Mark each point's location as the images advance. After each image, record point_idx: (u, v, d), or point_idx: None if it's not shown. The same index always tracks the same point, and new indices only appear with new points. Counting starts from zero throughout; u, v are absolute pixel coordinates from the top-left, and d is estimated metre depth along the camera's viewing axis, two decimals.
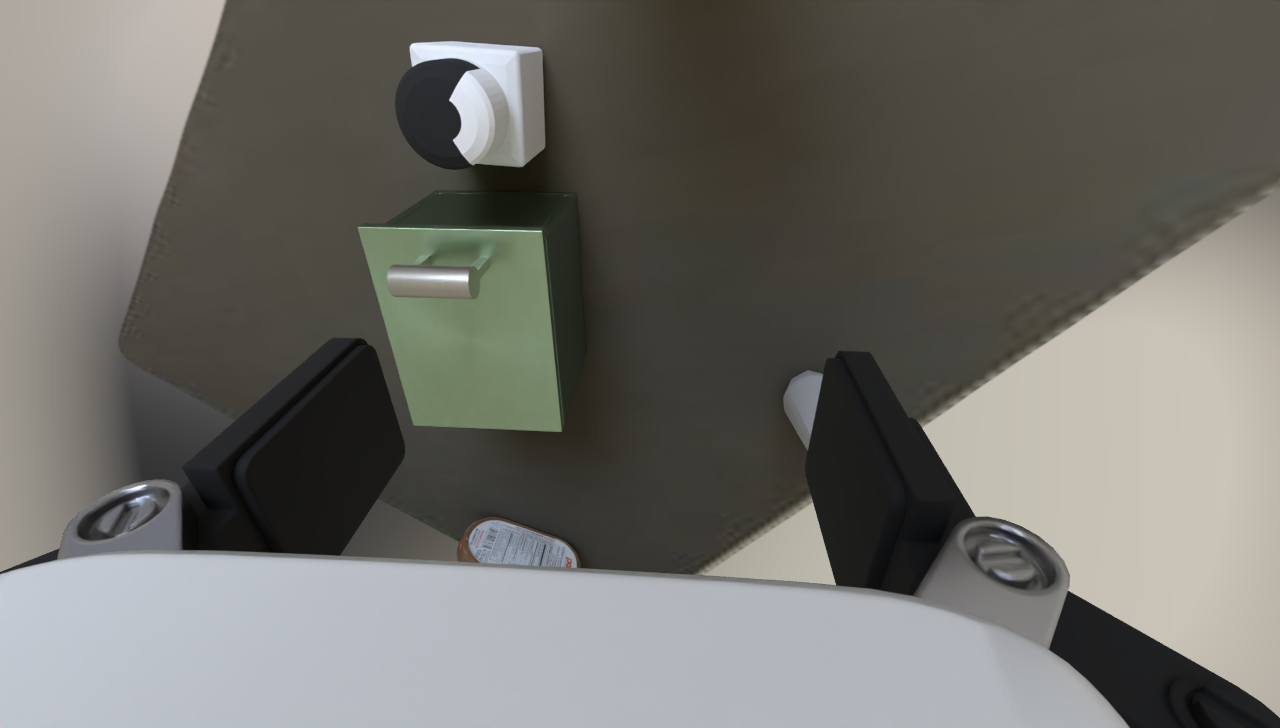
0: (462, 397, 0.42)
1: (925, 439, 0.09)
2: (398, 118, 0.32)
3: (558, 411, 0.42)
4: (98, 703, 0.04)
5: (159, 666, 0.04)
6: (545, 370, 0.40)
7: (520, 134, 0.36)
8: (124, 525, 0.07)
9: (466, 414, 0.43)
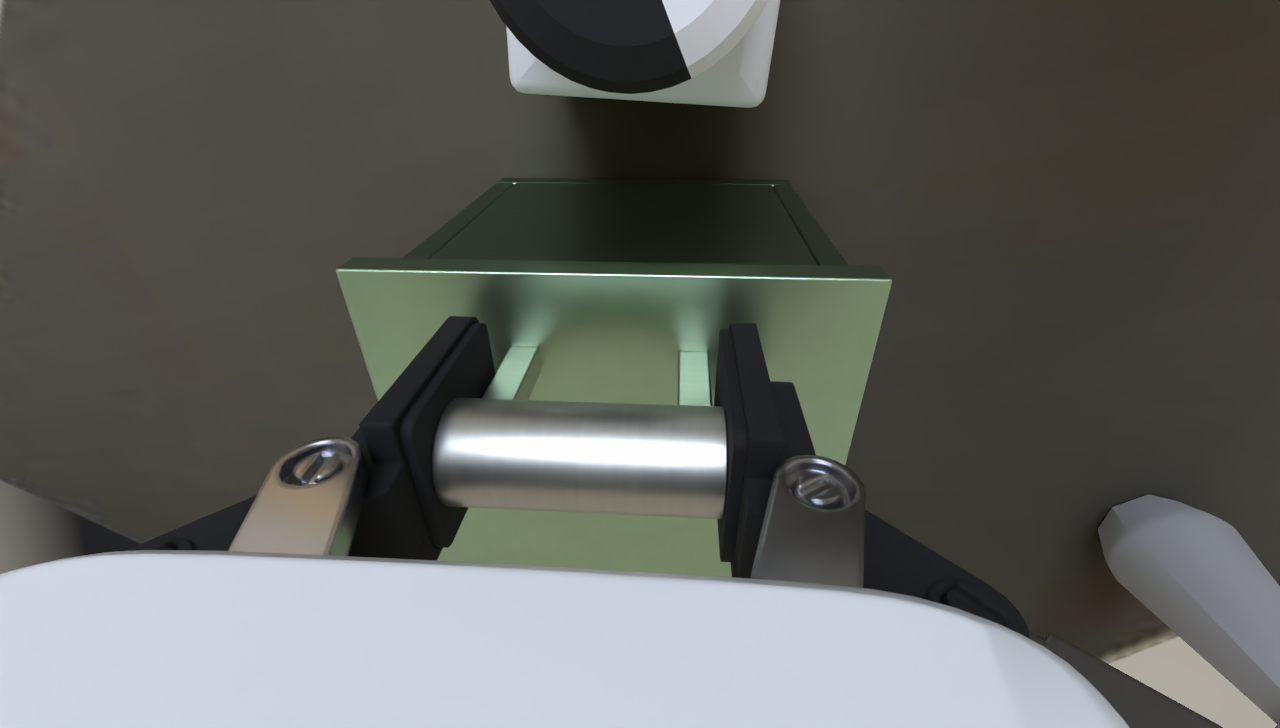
0: None
1: (795, 398, 0.10)
2: None
3: None
4: (98, 703, 0.04)
5: (159, 666, 0.04)
6: None
7: (772, 14, 0.14)
8: (317, 474, 0.08)
9: None
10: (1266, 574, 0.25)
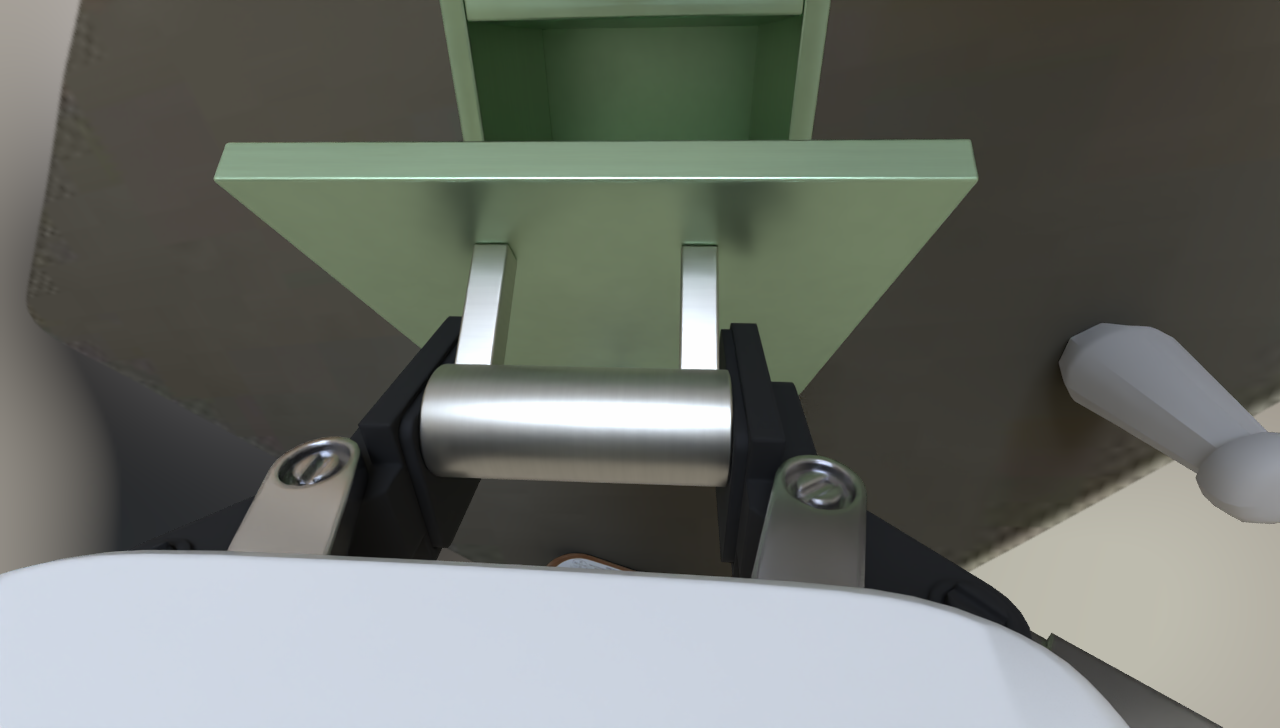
0: None
1: (796, 399, 0.10)
2: None
3: None
4: (98, 703, 0.04)
5: (159, 666, 0.04)
6: None
7: None
8: (316, 474, 0.08)
9: None
10: (1198, 365, 0.29)
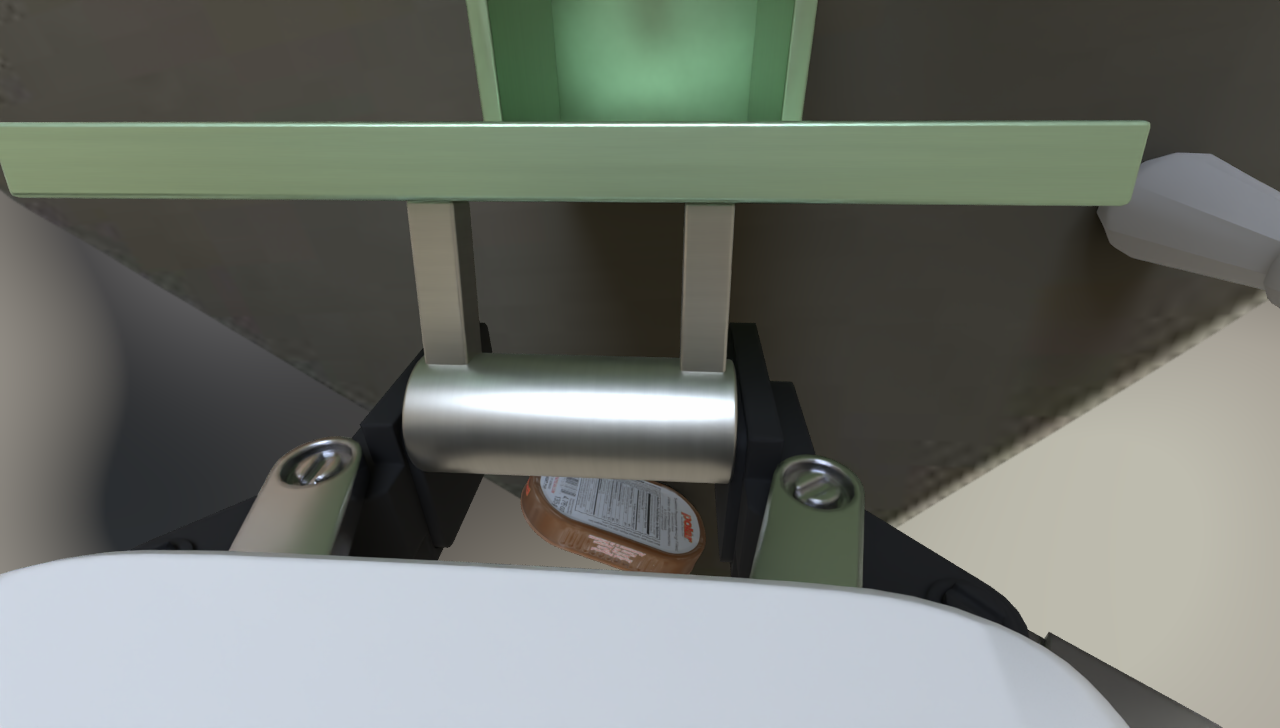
0: None
1: (794, 398, 0.10)
2: None
3: None
4: (99, 703, 0.04)
5: (159, 666, 0.04)
6: None
7: None
8: (318, 474, 0.08)
9: None
10: (1260, 182, 0.26)
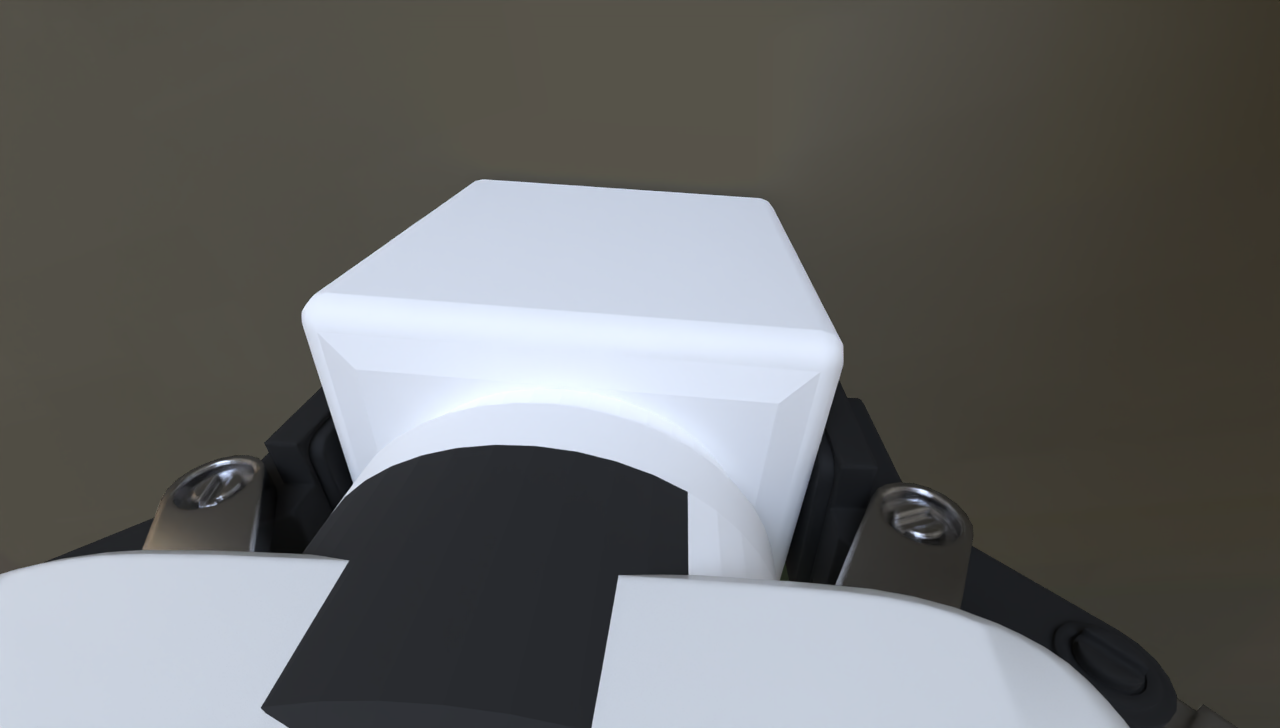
0: None
1: (867, 417, 0.09)
2: None
3: None
4: (98, 703, 0.04)
5: (159, 666, 0.04)
6: None
7: None
8: (215, 496, 0.07)
9: None
10: None
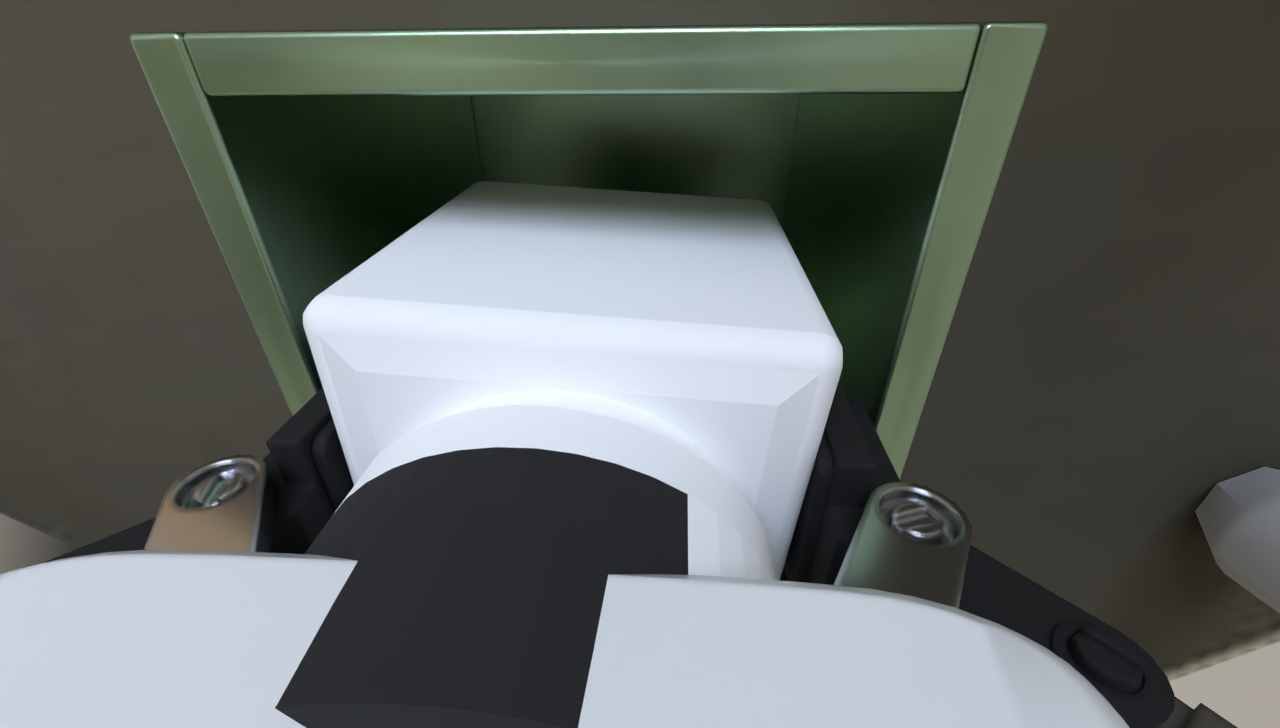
0: None
1: (866, 416, 0.09)
2: None
3: None
4: (98, 703, 0.04)
5: (159, 666, 0.04)
6: None
7: None
8: (217, 496, 0.07)
9: None
10: None
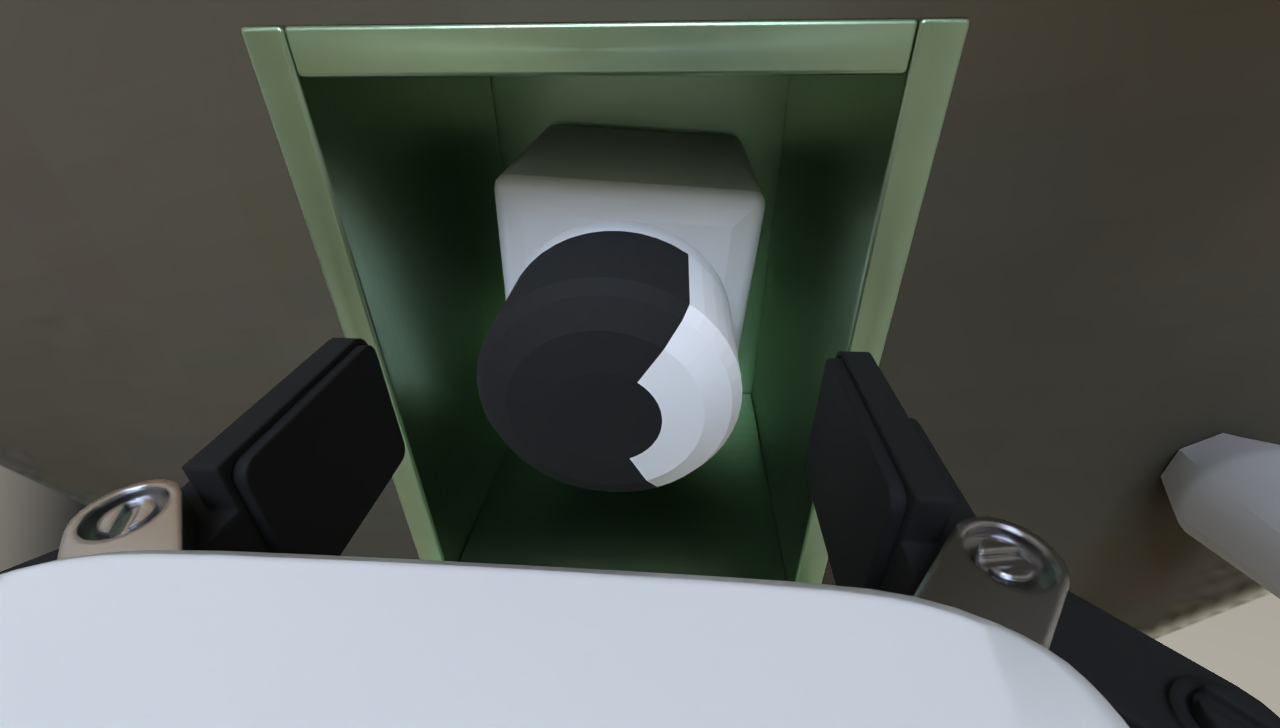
0: None
1: (925, 439, 0.09)
2: (485, 403, 0.12)
3: None
4: (98, 703, 0.04)
5: (159, 666, 0.04)
6: None
7: None
8: (124, 525, 0.07)
9: None
10: None
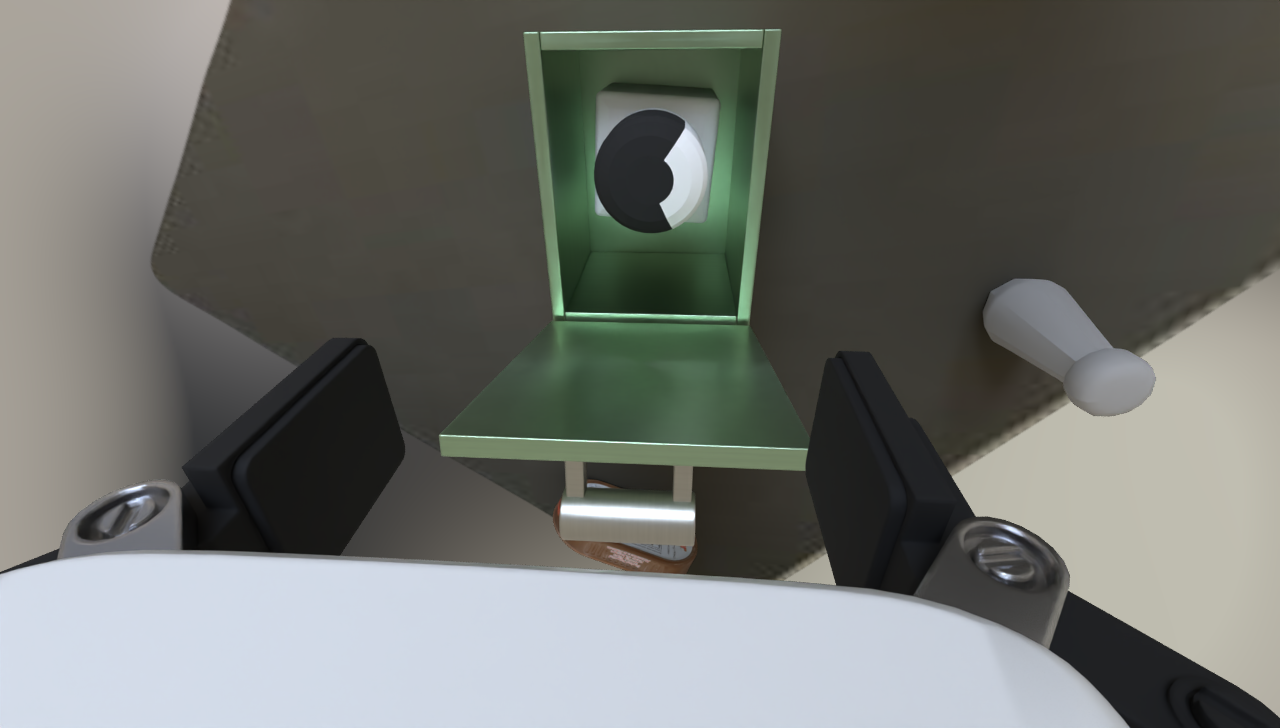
0: None
1: (925, 439, 0.09)
2: (597, 179, 0.28)
3: None
4: (98, 703, 0.04)
5: (159, 666, 0.04)
6: None
7: (708, 189, 0.33)
8: (124, 525, 0.07)
9: None
10: (1077, 307, 0.38)
